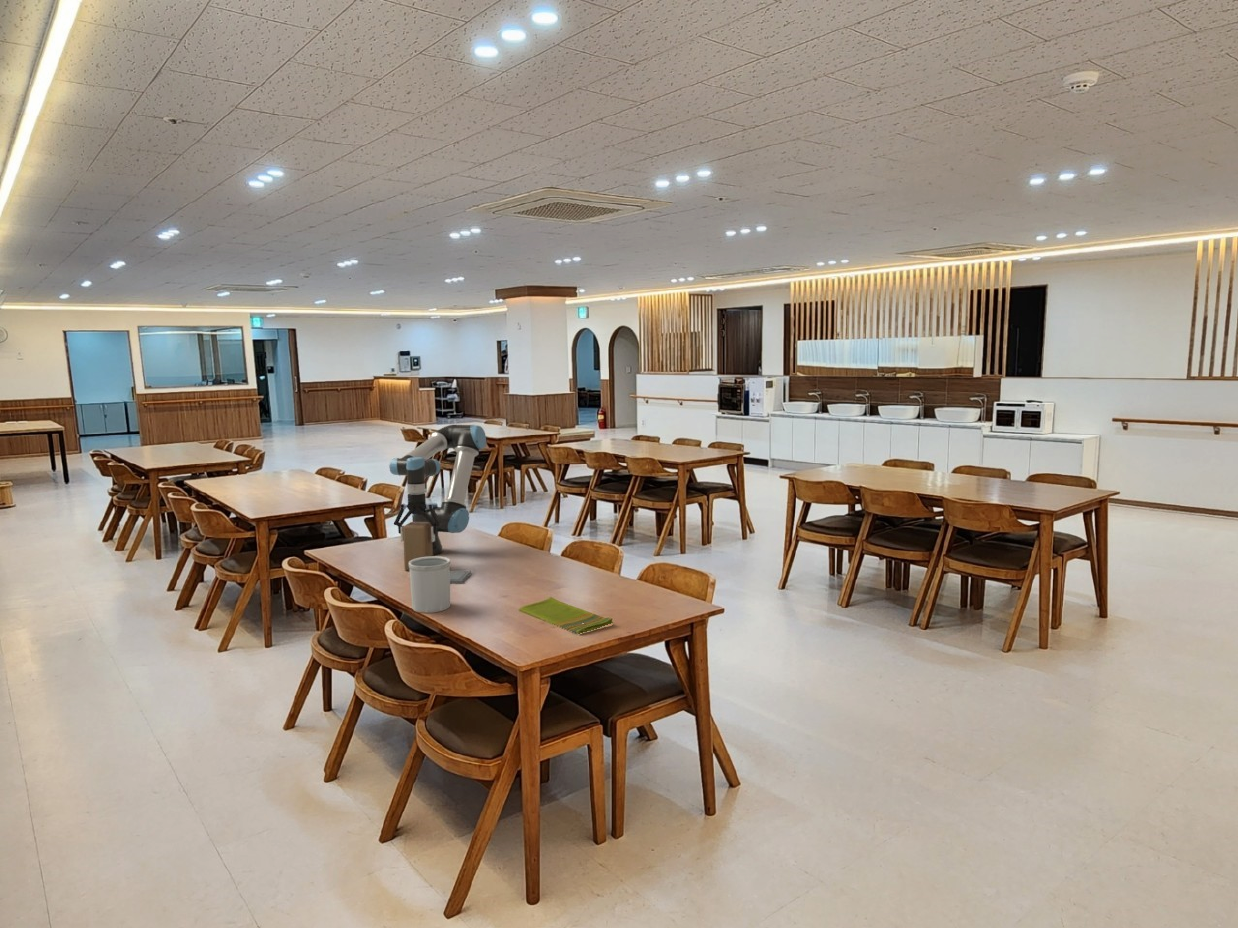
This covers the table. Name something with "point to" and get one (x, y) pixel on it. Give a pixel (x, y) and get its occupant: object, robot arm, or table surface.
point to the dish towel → (565, 615)
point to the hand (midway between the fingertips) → (418, 541)
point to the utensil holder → (430, 584)
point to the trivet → (458, 576)
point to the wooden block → (417, 541)
